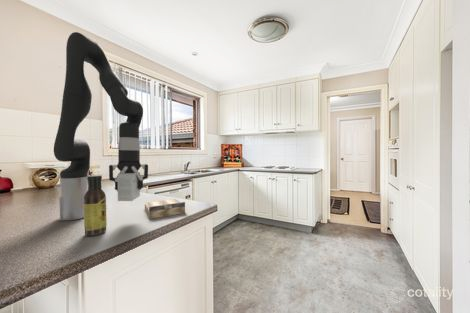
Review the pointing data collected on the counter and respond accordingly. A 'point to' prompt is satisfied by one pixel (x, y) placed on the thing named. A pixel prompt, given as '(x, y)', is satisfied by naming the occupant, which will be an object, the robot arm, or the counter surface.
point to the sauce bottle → (94, 207)
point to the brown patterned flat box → (164, 208)
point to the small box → (128, 187)
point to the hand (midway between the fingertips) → (129, 190)
